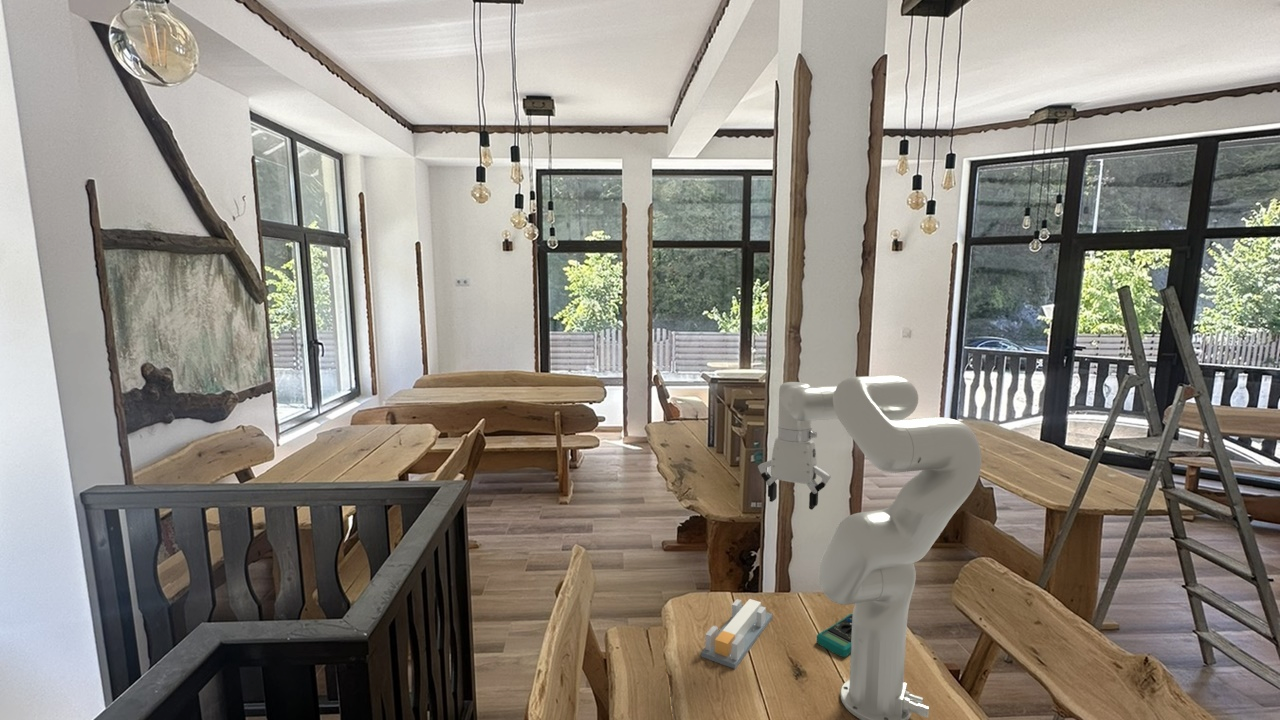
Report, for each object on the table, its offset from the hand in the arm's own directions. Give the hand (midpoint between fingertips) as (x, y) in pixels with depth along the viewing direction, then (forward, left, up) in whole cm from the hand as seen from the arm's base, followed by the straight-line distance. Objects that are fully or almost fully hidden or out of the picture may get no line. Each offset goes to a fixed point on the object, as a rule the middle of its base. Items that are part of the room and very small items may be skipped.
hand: (792, 503), depth 140 cm
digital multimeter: (-14, +3, -29) cm, 33 cm away
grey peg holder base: (+7, +15, -28) cm, 33 cm away
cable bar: (+7, +15, -27) cm, 32 cm away
